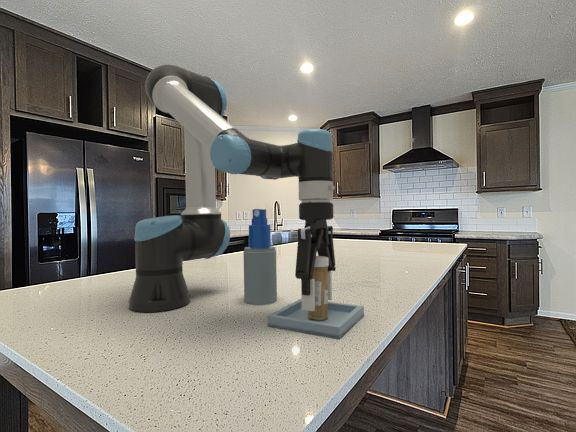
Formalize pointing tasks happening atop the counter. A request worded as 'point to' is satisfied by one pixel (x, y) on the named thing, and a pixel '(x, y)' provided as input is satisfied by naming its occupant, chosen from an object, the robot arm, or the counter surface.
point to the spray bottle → (260, 263)
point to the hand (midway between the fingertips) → (317, 304)
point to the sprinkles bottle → (320, 289)
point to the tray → (333, 326)
